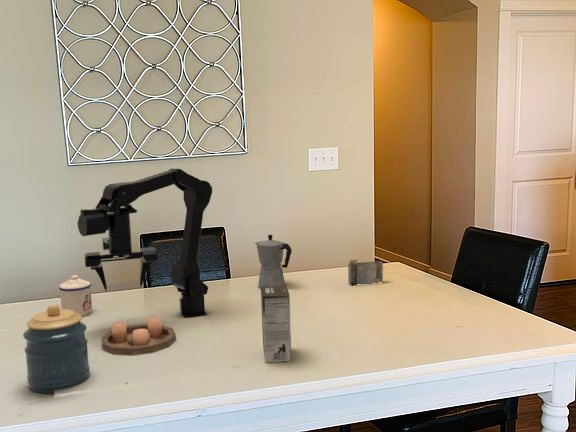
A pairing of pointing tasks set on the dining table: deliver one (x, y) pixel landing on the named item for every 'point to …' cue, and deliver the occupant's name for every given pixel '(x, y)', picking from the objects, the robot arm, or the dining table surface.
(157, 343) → the groove tray
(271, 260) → the coffeepot
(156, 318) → the bead
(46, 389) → the canister
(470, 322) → the dining table surface
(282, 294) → the coffee box
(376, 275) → the grey spool block
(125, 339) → the bead
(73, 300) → the white lidded jar
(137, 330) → the bead
